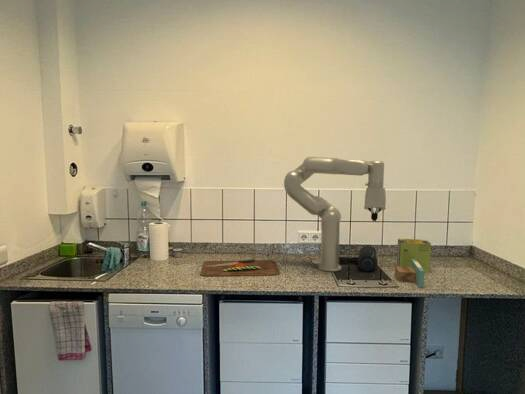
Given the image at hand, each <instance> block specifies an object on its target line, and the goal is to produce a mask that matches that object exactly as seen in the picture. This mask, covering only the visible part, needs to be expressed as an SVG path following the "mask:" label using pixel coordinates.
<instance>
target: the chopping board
mask: <svg viewBox="0 0 525 394" xmlns="http://www.w3.org/2000/svg"><path fill="white" fill-rule="evenodd" d="M197 265H198V266H197V269H196V272H195V274H200V276H201V277H204V278H218V277H220V278H223V277H276V276H280V274H281V273H285V272H284V269H283V266H282V264H281V263H280V262H278V263H277V262H276V261H275V260H272V259H265V260H264V259H258V260H257V259H256V260H255V258H254V259H245V260H205V261H203V262H202V264H200V263H198V264H197ZM200 267H201V270H200V271H199V269H200ZM279 268H280V269H279Z"/></svg>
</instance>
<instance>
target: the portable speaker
mask: <svg viewBox="0 0 525 394" xmlns="http://www.w3.org/2000/svg"><path fill="white" fill-rule="evenodd" d="M358 252H359V253H358V258H357V264H358V267H359V269H361V270H362V271H365V272H371V271H373V270H375V269H376V267H377V266H378V250H377V249H376V247H374V246H372V245H363V246H362V247H361V248H360V249H359V251H358Z"/></svg>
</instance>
